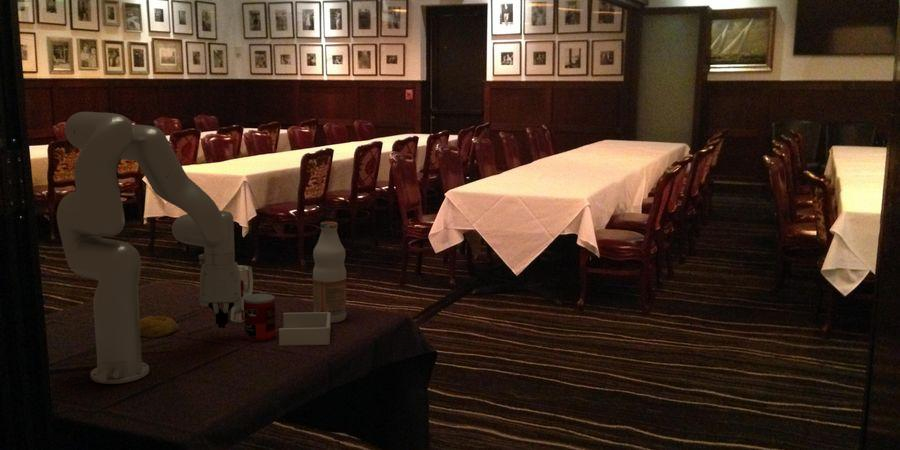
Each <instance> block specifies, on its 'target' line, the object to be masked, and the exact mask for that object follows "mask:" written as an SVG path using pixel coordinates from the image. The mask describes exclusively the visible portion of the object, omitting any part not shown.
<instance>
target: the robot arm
mask: <svg viewBox="0 0 900 450" xmlns="http://www.w3.org/2000/svg"><path fill="white" fill-rule="evenodd" d="M64 135H65V137H66V139H67V142H69V143H70V145H72V146H73V147H74V148H77V149H78V150H81V151H80V152H79V154H78V157H77V158H76V161H75V163H74V167H73V178H74V185H75V191H72V192H69V193H68V194H66V195H64V196H63V198H62V199H61V200H60V201H59V203H58V207H57V211H56V221H57V222H56V223H57V226H58V227H57V228H58V232H59V235H60V239H61V244H62V248H63V251H64V255H65V259H66V263H67V265H68V266H69V268H70V269H71V271H72V272H73V273H74V274H75V275H77V276H80V277H84V278H88V279H93V280H96V281H98V282H97V286H96V289H95V292H94V295H93V300H92V301H93V305H92V306H93V316H94V319H93V320H94V332H95V333H94V334H95V335H94V336H95V347H96V367H95V368H93V369H92V370H91V371H90V379H91V381H93V382H95V383H98V384H104V385H106V384H107V385H117V384H126V383H131V382H134V381H137V380H141V379H143V378H144V377H146V376H147V375H148V374H149V373H150V366H149V365H148V364H147V363H146V362H143V359H142V341H141V335H140V307H139V305H140V304H139V283H140V282H139V281H140V280H139V279H140V274H141V268H142V260H141V259H142V258H141V256H140V253H139V251H138V250H137V249H136V247H134V246H133V245H131V244H130V243H129V242H125V241H122V240H119V239H117V240H116V239H112V238H110V237H114V236H117V235H118V234H120V233H121V232H122V231H123V229H124V227H125V224H126V223H125V222H126V219H125V211H124V206H123V202H122V197H121V192H120V188H119V184H118V182H119V181H118V177H117V176H118V175H117V168H118V165H119V161H120V160H125V161H135V162H136V163H137V165H138V167H139V168H140V170H141V172H142V174H143V175H144V177H145V179H146V181H147V182H148V184H149V185H150V188H151V189H152V191H153V192H154V193H155V195H157V196H158V197H159V198H161V199H162V200H164V201H166V202H167V203H170V204H171V205H173V206H175V207H177V208H179V210H182V211H183V212H185V214H183V215H181V216H180V215H179V216H178V217H177V218H176V219H175V220H174V221H173V223H172V225H171V232H172V236H173V237H174V238H175V240H177V241H178V242H179V243H182V244H187V245H192V246H200V247H204V248H203V249H204V251H203V253H202V254H199V255H198V260H199V261H200V260H202V261H203V264H202V265H201V266H200V267H201V268H200V276H199V277H200V278H199V300H200V302H199V305H200V306H203V307H206V308H207V307H208V308H210V309H211V310H212V311H213V313H214V314H215V324H216V325H218V329H221V328H222V329H225V328H226V326H227V325H229V311H231V310H232V307H233V306H238V305H241V304H242V302H243V301H242V298H241V281H240V273H239V268H238V266H239V264H238V262H237V261H235V260H236V258H235V257H236V255H235V254H236V253H235V228H234V226H235V225H234V224H235V223H234V215H233V213H232V212H230V211H226V210H220V209H219V206H217V204H216V202H215V200H213V199H212V197H211V196H210V195H209V194H208V193H207V192H206V191H204V189H202V188H201V187H200V186H199V185H198V184H197V183H196V182H194V180H192V179H191V178H190V177H189V176H188V175H187V173H186V171H185V170H184V167H183V165H182V164H181V163H180V161H179V160H180V159H178V155H177V154H176V153H175V150H174V148H173V147H172V146H171V142H169V140H168V138H167V136H166V134H165V133H164V132H163V130H162V129H160V128H159V127H157V126H152V125H148V124H147V125H146V124H133V123H132V121H131V120H130V119H129V118H128V117H126V116H125V115H121V114H119V113H113V112H112V113H111V112H96V111H95V112H94V111H79V112H76V113H74V114H72V115H71V116H70V117H68V119H67V120H66V122H65V125H64ZM220 304H223V309H222V308H221V306H220Z"/></svg>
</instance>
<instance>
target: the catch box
mask: <svg viewBox="0 0 900 450" xmlns="http://www.w3.org/2000/svg"><path fill="white" fill-rule="evenodd" d="M282 316H283V317H282V318H283V321H282V323H283V328H282V327H280V328H278V332H279V333H278V340H279V341H278V345H279V346H280V347H281V346H321V345H323V346H324V345H328V346H329V345H330V341H331V329H332V328H331V327H332V325H331V324H332V323H331V312H313V311H312V312H311V311H310V312H283V314H282Z"/></svg>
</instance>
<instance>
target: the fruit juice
mask: <svg viewBox="0 0 900 450" xmlns="http://www.w3.org/2000/svg"><path fill="white" fill-rule="evenodd" d="M319 227H320V230H321V231H320V235H319V237H318V240H317V243H316V244H315V247H314V248H313V252H312V258H313V261H314V266H313V269H312V303H313V304H312V305H313V306H312V312H331V324H333V323H335V324H336V323H339V322H343V321H344V320H346V318H347V269H346V266H345V259H346V248H345V247H344V245H343V244H342V242H341V239H340V237H339V234H338V228H339V223H338V222H337V221H322V222H320V225H319Z"/></svg>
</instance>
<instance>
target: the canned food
mask: <svg viewBox="0 0 900 450" xmlns="http://www.w3.org/2000/svg"><path fill="white" fill-rule="evenodd" d="M275 301H276V300H275V296H274V295H272V294H269V293H254V294H253V293H252V295H248V296H246V297H244V322H243V323H244V325H243V326H244V337H245V339H246V340H248V341H250V342H265V341H266V340H267V341H270V340H272V339H274V338H275V336H276V302H275Z"/></svg>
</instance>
